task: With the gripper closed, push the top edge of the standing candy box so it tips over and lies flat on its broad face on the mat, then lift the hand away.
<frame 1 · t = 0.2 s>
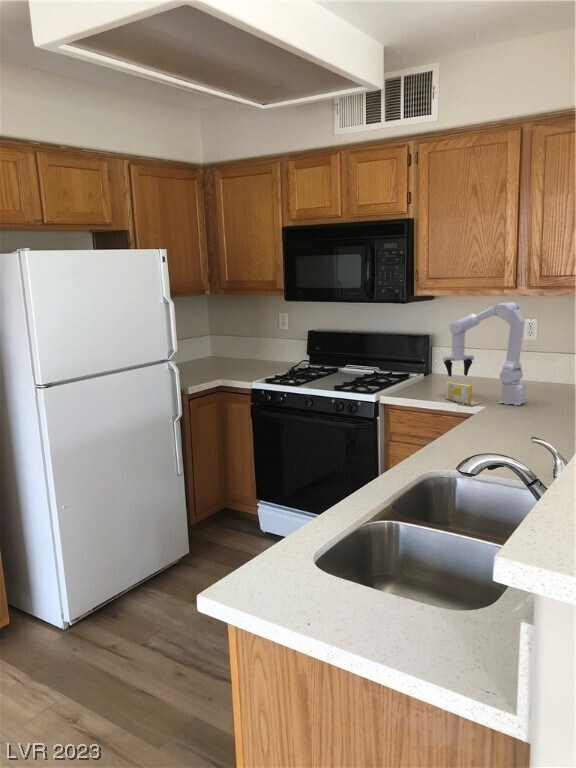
hand: (457, 375, 287), 10 cm above the worktop, tool pointing down, fingers open, 7 cm apart
candy box: (458, 402, 275), on the worktop, touching mat
mat: (470, 403, 271), on the worktop
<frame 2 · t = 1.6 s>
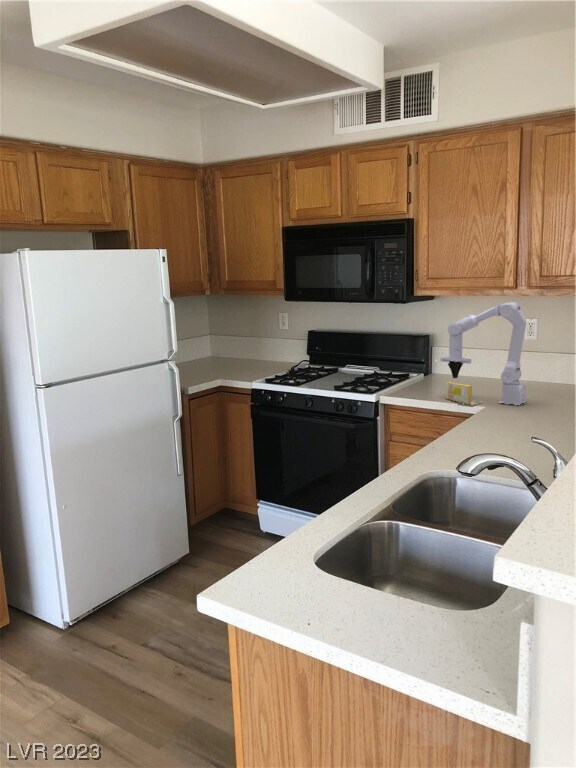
hand: (455, 377, 283), 9 cm above the worktop, tool pointing down, fingers closed
nothing on the worktop moved.
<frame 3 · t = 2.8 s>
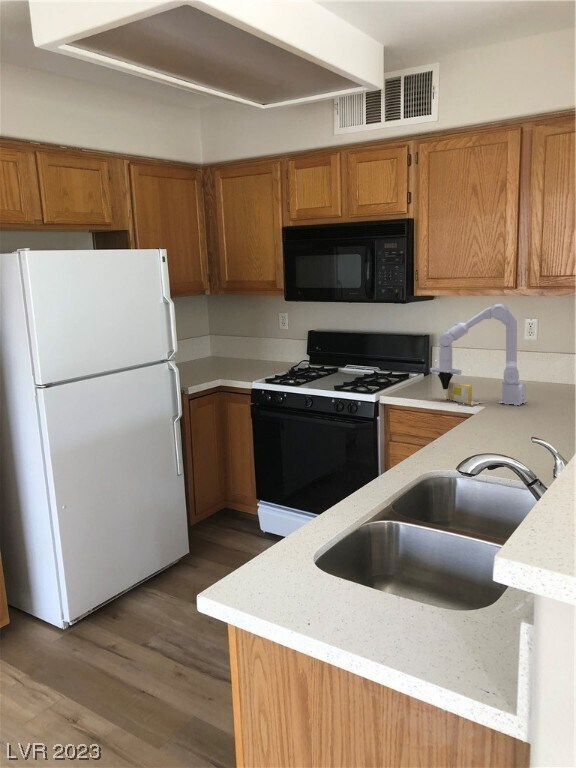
hand: (445, 389, 278), 5 cm above the worktop, tool pointing down, fingers closed
candy box: (458, 402, 275), on the worktop, touching gripper, mat
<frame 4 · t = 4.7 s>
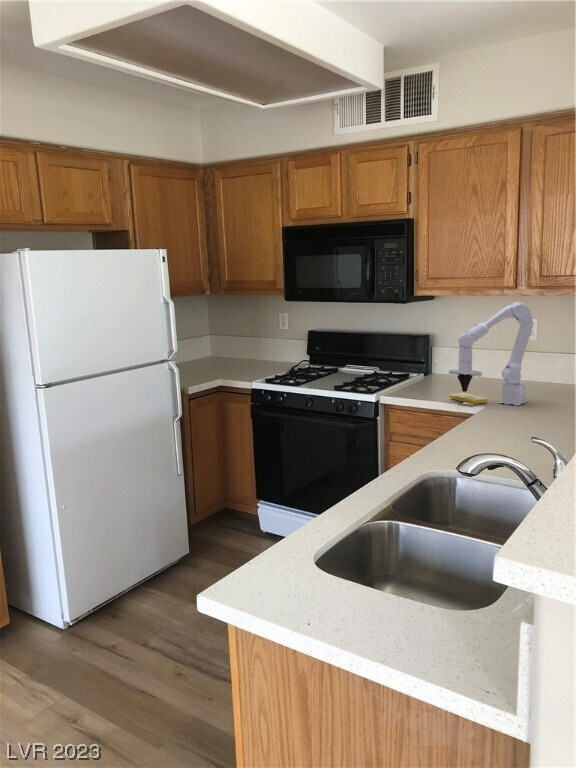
hand: (464, 391, 272), 5 cm above the worktop, tool pointing down, fingers closed
candy box: (460, 399, 275), point 1 cm above the worktop, touching mat
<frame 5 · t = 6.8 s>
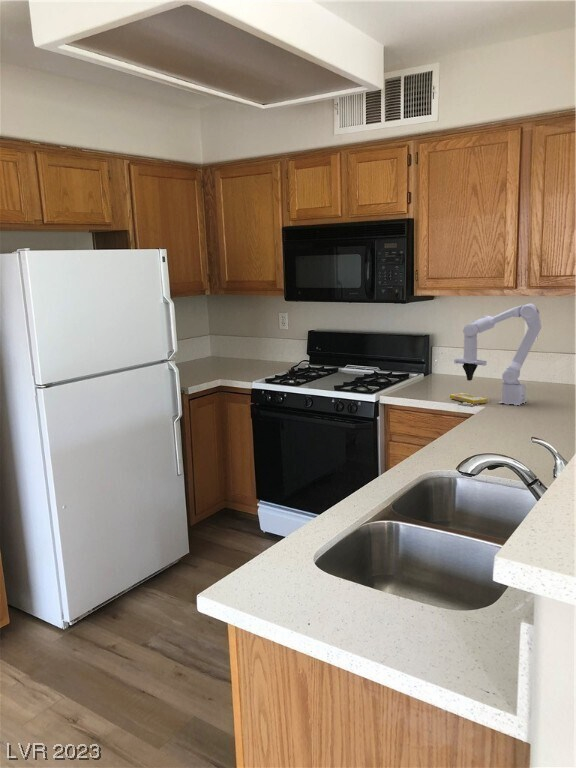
hand: (469, 380, 276), 9 cm above the worktop, tool pointing down, fingers closed
nothing on the worktop moved.
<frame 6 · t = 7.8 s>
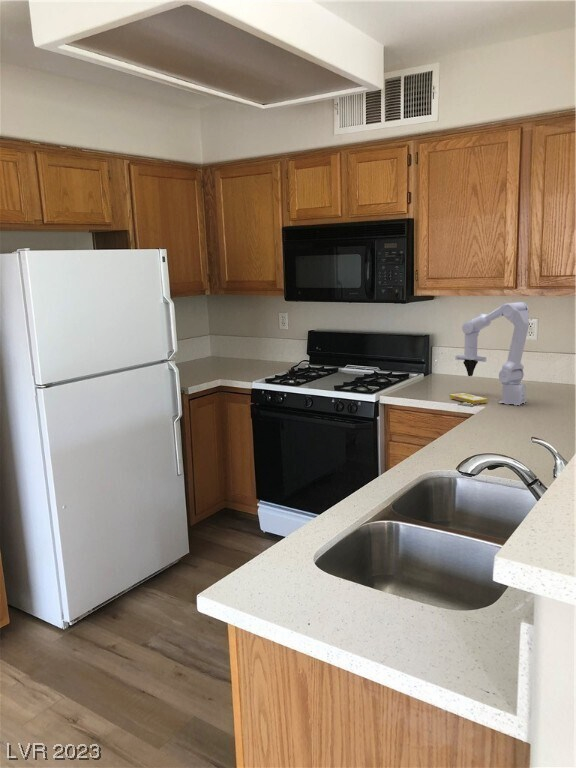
hand: (470, 375, 288), 9 cm above the worktop, tool pointing down, fingers closed
nothing on the worktop moved.
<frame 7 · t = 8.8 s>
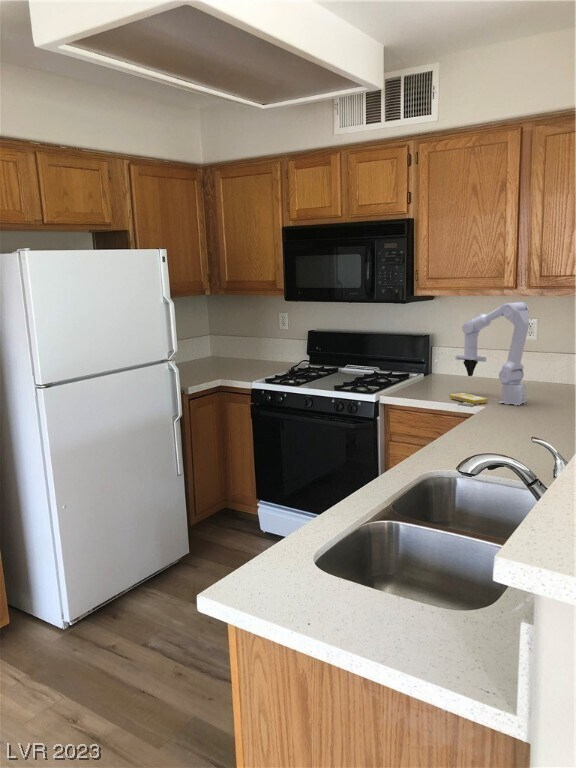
hand: (470, 375, 288), 9 cm above the worktop, tool pointing down, fingers closed
nothing on the worktop moved.
at the end: candy box tilted 89°; candy box touching mat; candy box inside the target area (3.6 cm from its centre), point 1.3 cm above the worktop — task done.
